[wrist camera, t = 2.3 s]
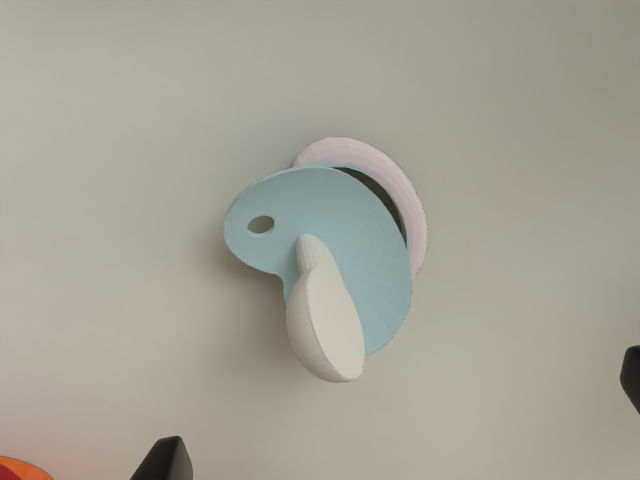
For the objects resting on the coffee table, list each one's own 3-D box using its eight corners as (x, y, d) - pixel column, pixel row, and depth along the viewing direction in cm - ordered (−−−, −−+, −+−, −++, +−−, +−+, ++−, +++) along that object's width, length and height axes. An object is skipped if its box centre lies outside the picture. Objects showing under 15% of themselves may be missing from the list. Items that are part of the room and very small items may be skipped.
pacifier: (357, 90, 15) (201, 195, 15) (433, 138, 9) (182, 299, 10) (450, 258, 18) (317, 338, 19) (547, 368, 12) (354, 477, 13)
